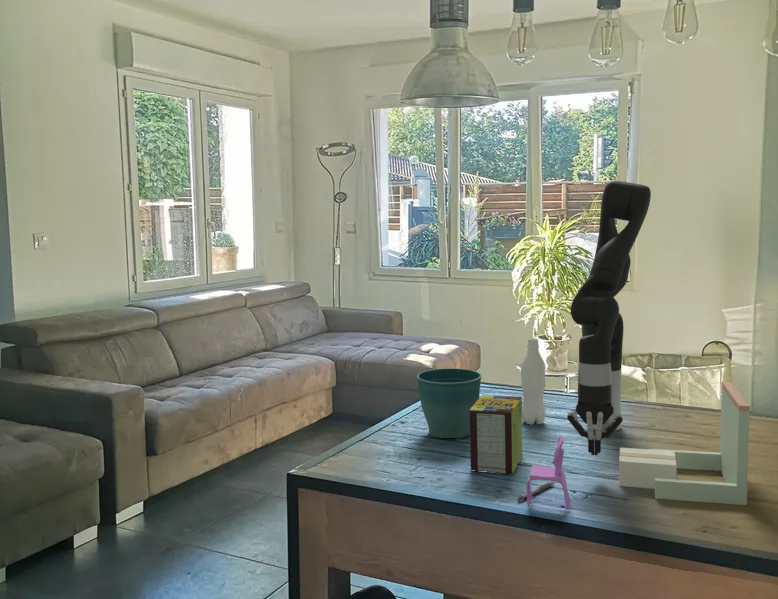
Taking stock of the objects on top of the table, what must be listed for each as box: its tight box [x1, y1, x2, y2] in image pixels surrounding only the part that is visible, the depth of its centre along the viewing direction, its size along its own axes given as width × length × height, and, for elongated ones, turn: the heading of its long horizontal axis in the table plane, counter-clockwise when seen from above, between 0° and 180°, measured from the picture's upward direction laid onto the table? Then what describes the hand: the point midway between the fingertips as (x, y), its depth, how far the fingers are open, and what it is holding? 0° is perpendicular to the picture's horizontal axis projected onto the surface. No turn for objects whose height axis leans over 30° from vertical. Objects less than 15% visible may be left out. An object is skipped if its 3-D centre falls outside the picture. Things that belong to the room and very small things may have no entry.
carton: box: [618, 447, 678, 490], centre depth 169 cm, size 12×10×6 cm
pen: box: [516, 481, 555, 501], centre depth 163 cm, size 1×14×1 cm, turn 134°
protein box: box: [469, 394, 523, 475], centre depth 182 cm, size 10×15×16 cm
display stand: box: [648, 381, 751, 506], centre depth 165 cm, size 18×22×21 cm
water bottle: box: [520, 338, 547, 426], centre depth 216 cm, size 7×7×25 cm
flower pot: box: [416, 367, 483, 439], centre depth 208 cm, size 18×18×17 cm
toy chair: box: [525, 435, 571, 511], centre depth 156 cm, size 8×9×15 cm
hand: (594, 454), depth 171 cm, fingers closed
